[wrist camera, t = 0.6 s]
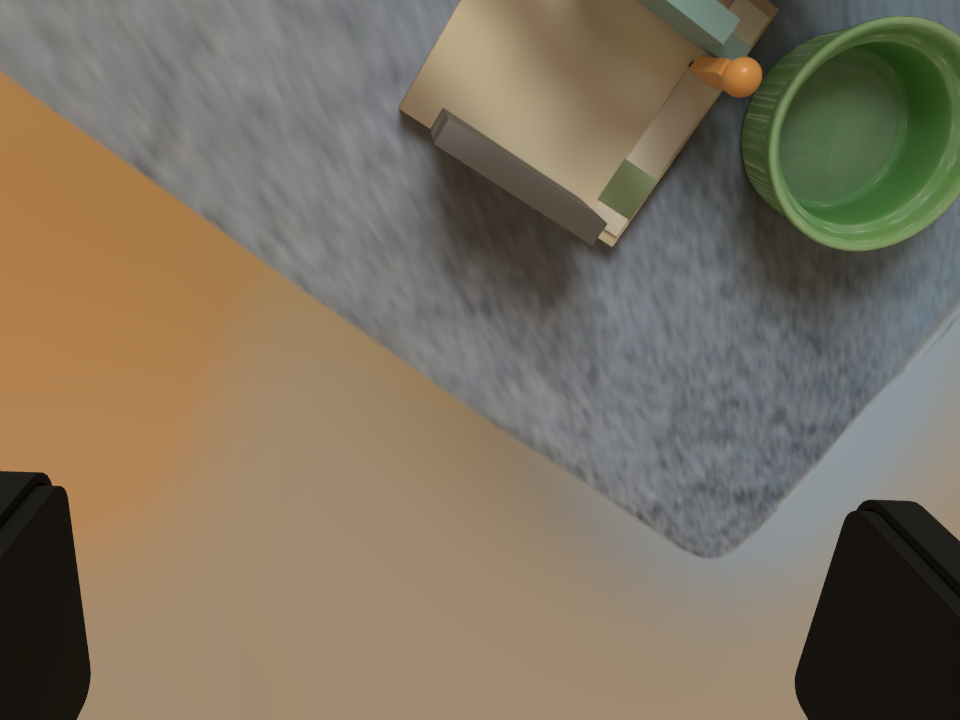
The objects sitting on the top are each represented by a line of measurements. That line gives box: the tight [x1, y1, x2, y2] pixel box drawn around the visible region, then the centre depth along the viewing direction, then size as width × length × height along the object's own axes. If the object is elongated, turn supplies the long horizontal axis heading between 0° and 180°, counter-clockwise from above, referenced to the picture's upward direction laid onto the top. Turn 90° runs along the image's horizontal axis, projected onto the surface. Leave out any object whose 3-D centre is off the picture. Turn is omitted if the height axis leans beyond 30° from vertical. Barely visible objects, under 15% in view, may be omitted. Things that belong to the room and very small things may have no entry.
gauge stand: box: [399, 0, 779, 247], centre depth 30 cm, size 12×11×6 cm
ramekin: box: [741, 16, 960, 251], centre depth 33 cm, size 9×9×4 cm
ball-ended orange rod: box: [689, 57, 762, 98], centre depth 30 cm, size 1×1×4 cm
